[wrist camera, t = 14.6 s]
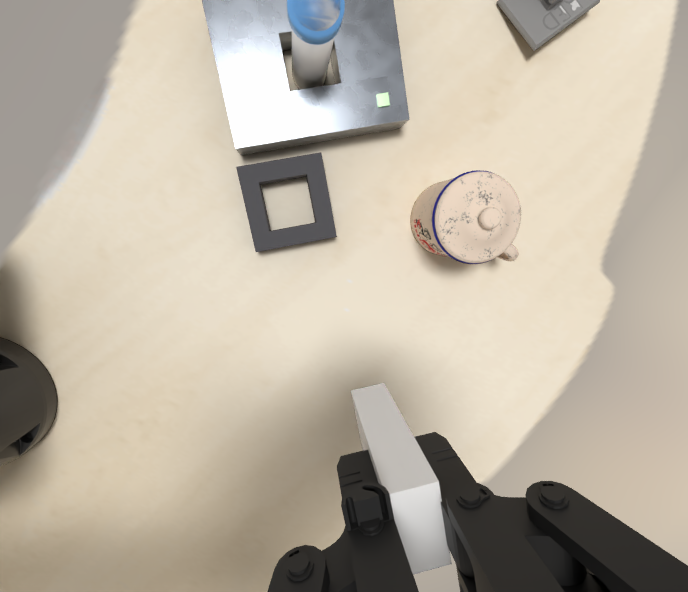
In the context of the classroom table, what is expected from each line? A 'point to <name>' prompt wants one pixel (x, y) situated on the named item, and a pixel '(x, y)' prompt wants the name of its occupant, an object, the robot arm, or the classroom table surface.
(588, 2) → the camera
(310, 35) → the plug
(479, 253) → the teacup with lid
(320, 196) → the frame
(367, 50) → the port panel
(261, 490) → the classroom table surface
